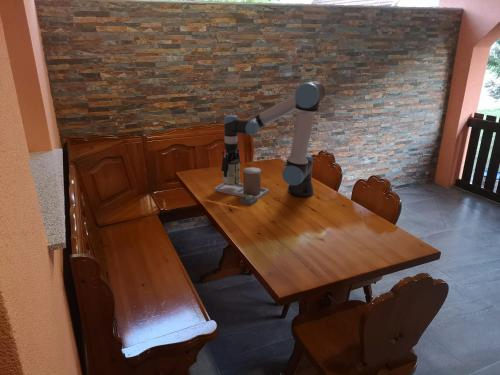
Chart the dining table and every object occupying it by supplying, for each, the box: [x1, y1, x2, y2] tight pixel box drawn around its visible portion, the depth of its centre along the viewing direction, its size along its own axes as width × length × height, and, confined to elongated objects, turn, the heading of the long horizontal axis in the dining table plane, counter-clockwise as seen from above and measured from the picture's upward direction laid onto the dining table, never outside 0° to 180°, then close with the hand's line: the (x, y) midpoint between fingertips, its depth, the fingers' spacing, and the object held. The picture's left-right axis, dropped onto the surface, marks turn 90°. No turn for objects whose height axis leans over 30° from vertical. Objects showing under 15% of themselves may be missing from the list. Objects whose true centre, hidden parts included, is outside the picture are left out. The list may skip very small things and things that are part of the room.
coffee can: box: [221, 159, 241, 186], centre depth 217 cm, size 10×10×14 cm
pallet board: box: [213, 182, 270, 200], centre depth 217 cm, size 29×15×2 cm, turn 60°
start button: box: [245, 195, 253, 201], centre depth 201 cm, size 4×4×3 cm
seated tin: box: [242, 166, 262, 196], centre depth 211 cm, size 10×10×14 cm
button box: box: [239, 197, 259, 206], centre depth 202 cm, size 7×7×3 cm
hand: (231, 179), depth 218 cm, fingers closed on coffee can, 10 cm apart
